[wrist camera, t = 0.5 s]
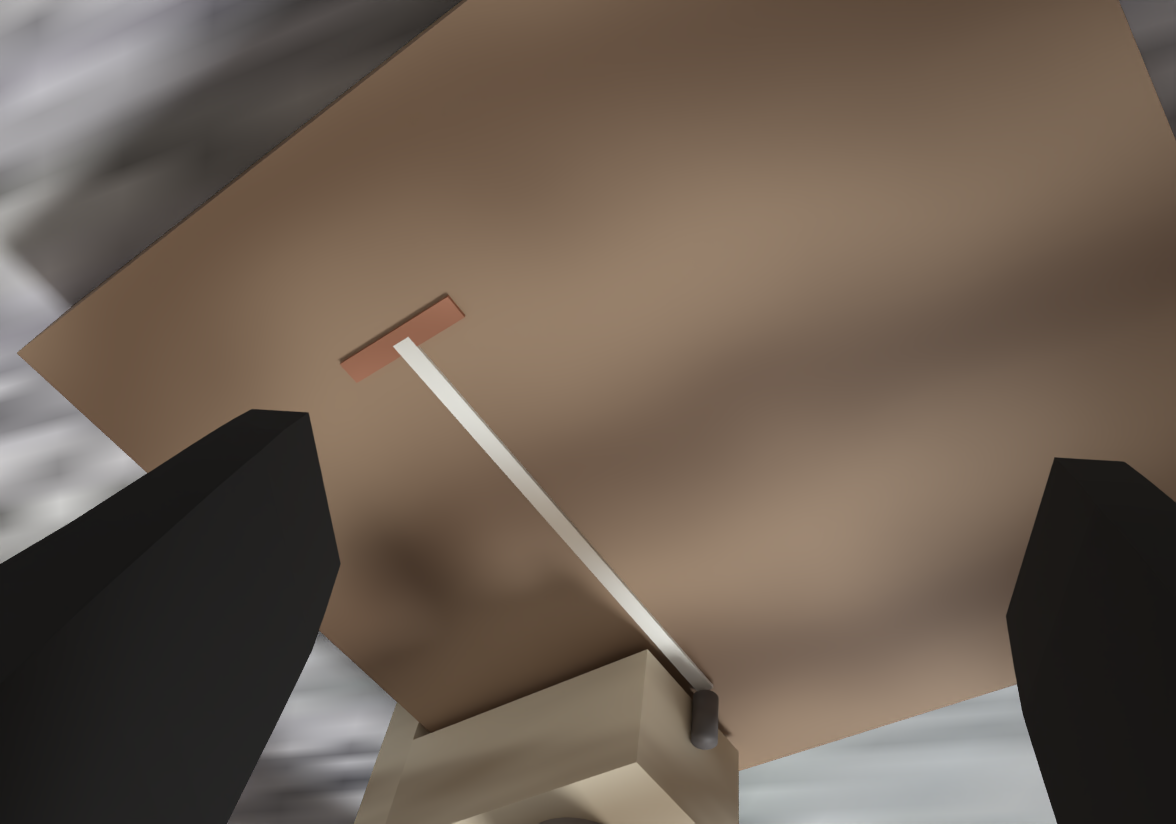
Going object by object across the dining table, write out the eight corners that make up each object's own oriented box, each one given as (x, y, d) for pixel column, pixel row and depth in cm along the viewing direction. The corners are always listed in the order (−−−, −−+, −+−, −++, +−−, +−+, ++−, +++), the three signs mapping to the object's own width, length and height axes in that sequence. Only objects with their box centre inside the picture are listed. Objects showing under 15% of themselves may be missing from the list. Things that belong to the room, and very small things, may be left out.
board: (1305, 512, 21) (1356, 581, 19) (551, 771, 29) (539, 835, 27) (933, -371, 14) (962, -388, 12) (71, 307, 22) (14, 355, 20)
